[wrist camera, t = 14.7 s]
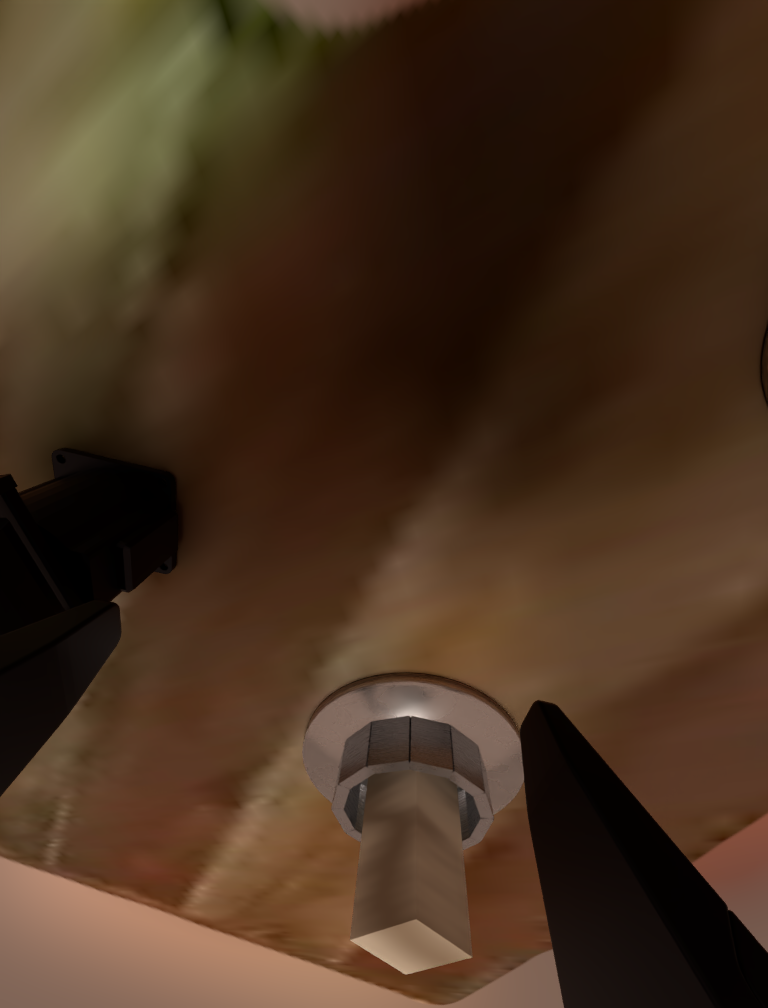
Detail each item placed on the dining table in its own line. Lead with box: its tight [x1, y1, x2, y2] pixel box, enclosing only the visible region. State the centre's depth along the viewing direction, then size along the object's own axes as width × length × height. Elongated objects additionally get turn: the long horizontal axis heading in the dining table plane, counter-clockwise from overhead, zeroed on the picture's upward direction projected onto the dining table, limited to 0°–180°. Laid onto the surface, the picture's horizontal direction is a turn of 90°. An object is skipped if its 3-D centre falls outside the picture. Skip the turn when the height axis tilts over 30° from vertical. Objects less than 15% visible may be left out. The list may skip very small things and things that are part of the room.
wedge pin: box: [350, 770, 472, 974], centre depth 24 cm, size 4×4×9 cm
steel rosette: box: [302, 673, 524, 850], centre depth 27 cm, size 16×16×4 cm
